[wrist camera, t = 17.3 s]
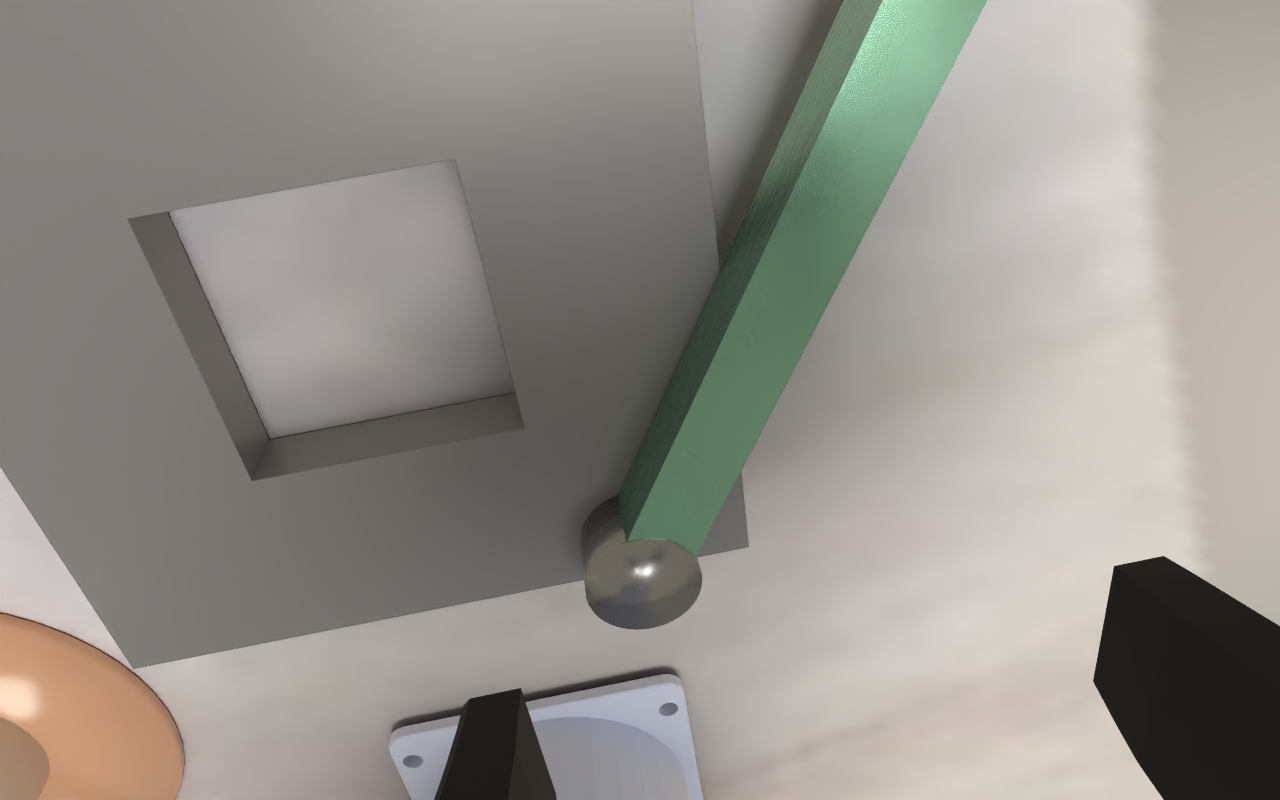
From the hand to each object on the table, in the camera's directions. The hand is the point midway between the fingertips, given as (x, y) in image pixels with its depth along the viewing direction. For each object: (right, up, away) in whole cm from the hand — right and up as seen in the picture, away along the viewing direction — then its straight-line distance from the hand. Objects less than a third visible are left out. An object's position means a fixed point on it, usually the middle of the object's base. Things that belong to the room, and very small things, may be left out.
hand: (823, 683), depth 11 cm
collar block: (-8, +5, +7) cm, 12 cm away
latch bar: (0, +7, +5) cm, 9 cm away
